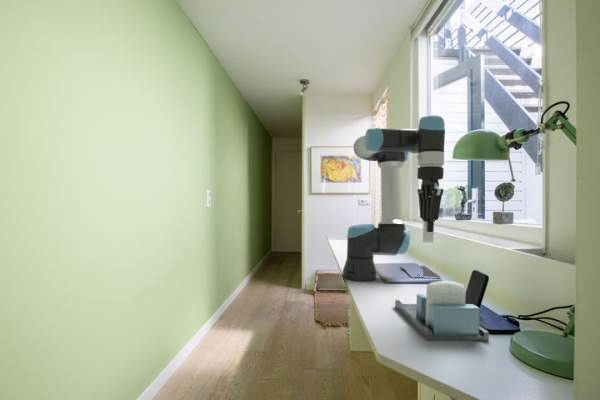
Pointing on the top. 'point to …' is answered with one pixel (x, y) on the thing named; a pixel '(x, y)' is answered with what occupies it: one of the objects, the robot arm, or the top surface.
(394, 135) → the robot arm
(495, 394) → the top surface
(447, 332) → the vise
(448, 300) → the white rounded slab
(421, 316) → the sliding jaw
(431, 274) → the notebook
